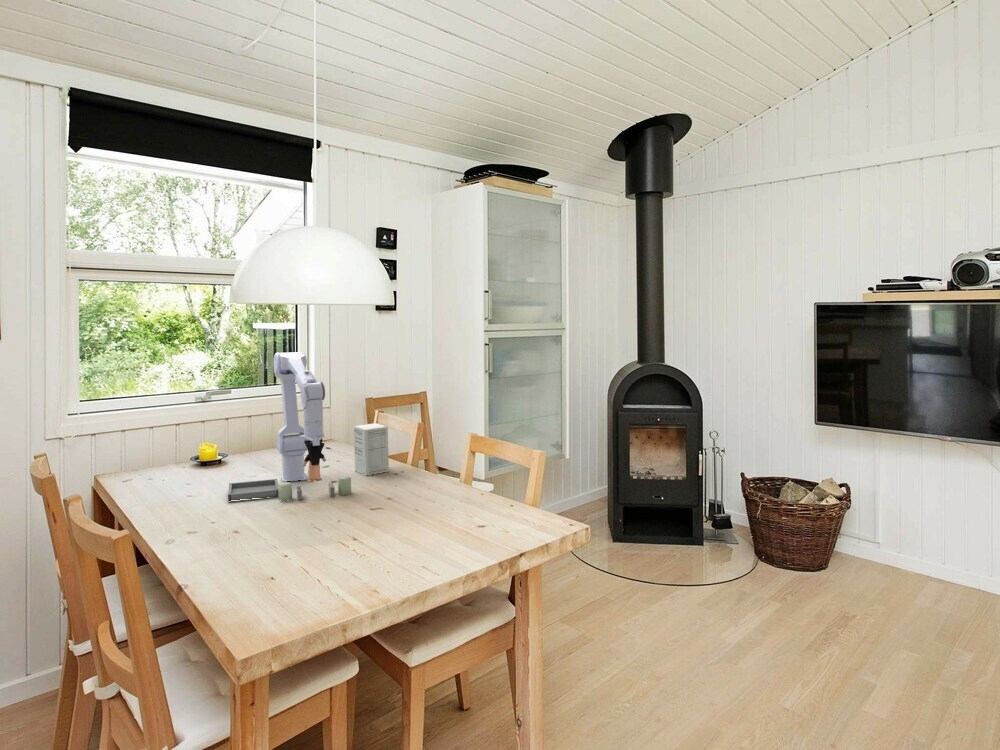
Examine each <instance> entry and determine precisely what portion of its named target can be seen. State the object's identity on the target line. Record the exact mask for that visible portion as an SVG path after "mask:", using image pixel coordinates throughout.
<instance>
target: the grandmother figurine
mask: <svg viewBox="0 0 1000 750" xmlns="http://www.w3.org/2000/svg"><path fill="white" fill-rule="evenodd" d="M310 443H312V442H310ZM320 460H321V461H322V462H327V459H326V457H325V454H324V453H323V452H321V456H320ZM307 463H308V472H307V473H308V474H307V479H308V480H307V482H308V483H312V484H313V483H314V482H315V481H316V482H320V481H322V477H321V464H320V462H319V465H313V466H312V464H311V461H310V455H309V453H307V454H306V456H305V457H304V462H303V465H302V466H303V467H304V468H305V467H306V466H307Z"/></svg>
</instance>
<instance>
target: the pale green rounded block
mask: <svg viewBox="0 0 1000 750" xmlns="http://www.w3.org/2000/svg"><path fill="white" fill-rule="evenodd" d="M278 493H279V497H278V501H279V500H281V501H286V502H288V501H287V500H291V499H292V500H293V483H292V481H291V482H278ZM292 500H291V501H292ZM281 501H280V502H281Z"/></svg>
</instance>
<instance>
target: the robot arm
mask: <svg viewBox="0 0 1000 750" xmlns="http://www.w3.org/2000/svg"><path fill="white" fill-rule="evenodd" d="M272 362H273V372H274V377H276V378H278V379H279V381H280V386H281V387H280V388H281V398H282V399H281V400H282V412H283V423H284V424H283V425H284V426H282V427H281V428H280V429H279V430H278V431H277V432H276V441H275V442H276V443H275V444H276V445H275V446H276V450H277V452H278V454H279V455H281V460H282V462H281V463H282V464H281V465H282V467H281V468H282V474H280V479H281V478H282V479H281V483H283V482H287V481H291V482H299V481H298V480H301V481H306V480H307V479H308V477H307V476H306V473H305V467H303V466H302V465H303V462H304V459H305V454H306V451H307V452H308V453H307V454H309V455H310V461H311V464H312V466H313V465H319V462H320V460H321V459H320V456H321V453H322V452H323V448H324V447H325V442H323V441H324V440H323V438H325V434H324V412H323V411H324V406H323V404H324V403H323V402H324V400H325V399H326V388H325V387H326V386H325V384H324V383H323V381H318V380H317V378H316V377H315V375H314V374H313V372H312V371H310V370H308V369H307V365H308V363H307V362H308V361H307V355H306V353H305V352H304V351H297V352H296V351H295V352H275V353H274V356H273V361H272ZM296 385H297V387H298V388H299V393H300V398H301V406H302V407H303V426H301V425H300V421H299V412H298V410H299V409H298V399H297V388H296ZM310 442H312V443H310ZM307 481H308V480H307Z"/></svg>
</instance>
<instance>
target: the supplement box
mask: <svg viewBox="0 0 1000 750" xmlns="http://www.w3.org/2000/svg"><path fill="white" fill-rule="evenodd" d="M388 429H389V428H388V426H386V425H382V424H380V423H376V422H374V423H367V424H359V425H354V426H353V450H354V451H353V452H354V453H353V454H354V455H353V456H354V471H355V472H356V471H357V472H356V473H358V472H359V474H361V473H362V474H361V475H363V474H364V475H363V476H365V475H369V476H373V475H372V474H374V475H378V474H377V473H379V474H384V473H383V472H385V473H388V472H390V469H389V468H390V467H389V465H390V464H389V430H388Z"/></svg>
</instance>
